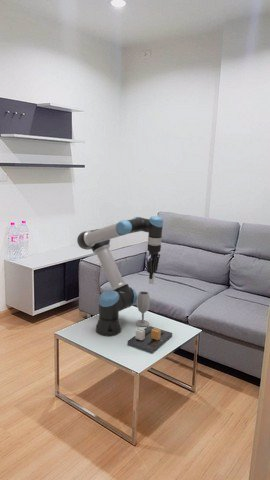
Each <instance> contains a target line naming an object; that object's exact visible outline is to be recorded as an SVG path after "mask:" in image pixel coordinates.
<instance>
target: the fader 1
mask: <svg viewBox="0 0 270 480" xmlns="http://www.w3.org/2000/svg"><path fill="white" fill-rule="evenodd" d="M134 336H135V338H136V339H139V340H143V339H145V330H144V328H143V329H142V328H139V327H138V328H136V329H135V334H134Z"/></svg>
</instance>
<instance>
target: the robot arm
mask: <svg viewBox="0 0 270 480" xmlns="http://www.w3.org/2000/svg"><path fill="white" fill-rule="evenodd" d="M163 220H164V219H163V218H162V217H161V216H156V215H155V216H150V217H149V219H148V218H145V217H141V216H134V217H133V218H132V219H131V218H130V219H124V220H120V221H118V222H117V223H114V224H113V223H112V224H111V225H108V226H103V227H101V228H97V229H91V230H86V231H82V232H80V233H79V234H78V236H77V238H76V242H77V245H78V246H79V247H80V249H83V250H87V251H88V250H92V253H93V254H96V256H97V258H98V260H99V262H100V265H101V267H102V269H103V271H104V273H105V275H106V278H107V280H108V283H109V284H110V287H111V290H107V291H104V292H102V293H101V294H100V295H99V300H98V303H99V304H98V306H99V307H98V320H97V322H96V325H95V332H96V333H97V334H98V335H101V336H104V337H113V336H117V335H118V334H120V333H121V332H122V325H121V324H120V323H121V321H120V319H119V314H120V313H119V312H121V311H124V310H126V309H129V308H131V307H132V306H134V305H135V304H136V303H137V299H138V295H137V292H136V290H135V289H134V288H133V287H130V286H129V283H126V282H125V281H124V279H123V276H122V274H121V272H120V270H119V267H118V265H117V263H116V261H115V258H114V257H113V254H112V253H111V249H110V246H111V244H110V243H111V240H112V239H116V238H119V237H122V236H125V235H129V234H133V233H134V234H135V233H139V232H144V233H147V234H148V237H147V248H146V249H147V252H148V257H145V260H146V270H147V272H146V273H148V274H149V275H148V276H149V277H148V284H149V285H154V284H155V275H156V274H157V271H158V267H159V263H160V262H159V261H160V258H161V253H160V252H162V251H161V248H162V241H163V240H162V234H163V228H164V227H163V226H164V223H163V222H164V221H163Z"/></svg>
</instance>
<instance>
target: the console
mask: <svg viewBox="0 0 270 480" xmlns="http://www.w3.org/2000/svg"><path fill="white" fill-rule="evenodd" d="M153 328H156V329H159V330H161V335H160V339H159V340H155V339H152V338H151V330H152V329H153ZM143 330H145V339H143V340H139V339H136V338H135V335H134V336H132V337H131V338H130V339H129V340H127V346H130V347H131V348H136V349H139V350H140V351H144V352H146V353H149V354H154V353H155V352H156V351H157V350H159V349H160V348H161V347H163V345H164V344H165V343H167V342H168V341H169V340H170V339H171V338H172V337H173V332H172V331H171V332H170V331H168V330H163V329H160V328H157V327H154V326H153V325H148V326H147V327H145V328H143Z"/></svg>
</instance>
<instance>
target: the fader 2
mask: <svg viewBox="0 0 270 480" xmlns="http://www.w3.org/2000/svg"><path fill="white" fill-rule="evenodd" d="M156 328H157V327H155V328H153V329H152V330H151V338H152V339H155V340H159V339H160V335H161V330H162V329H161V330H159V329H160V328H158V329H156Z"/></svg>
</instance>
